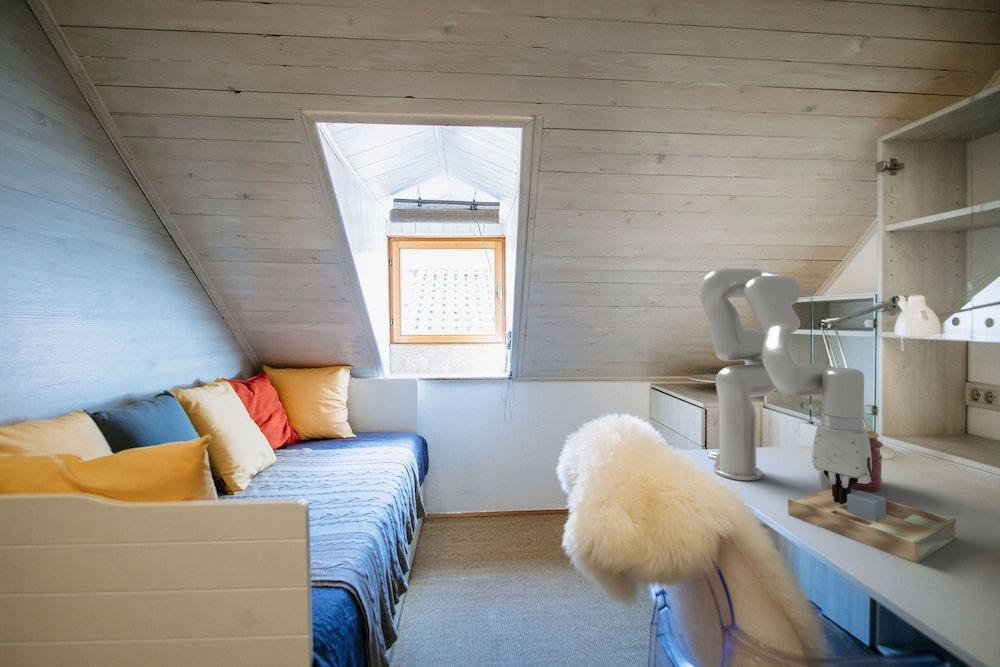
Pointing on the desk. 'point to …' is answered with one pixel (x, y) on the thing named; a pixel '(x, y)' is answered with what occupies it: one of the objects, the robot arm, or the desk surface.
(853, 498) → the block
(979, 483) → the desk surface
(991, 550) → the desk surface
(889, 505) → the box
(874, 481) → the canister
